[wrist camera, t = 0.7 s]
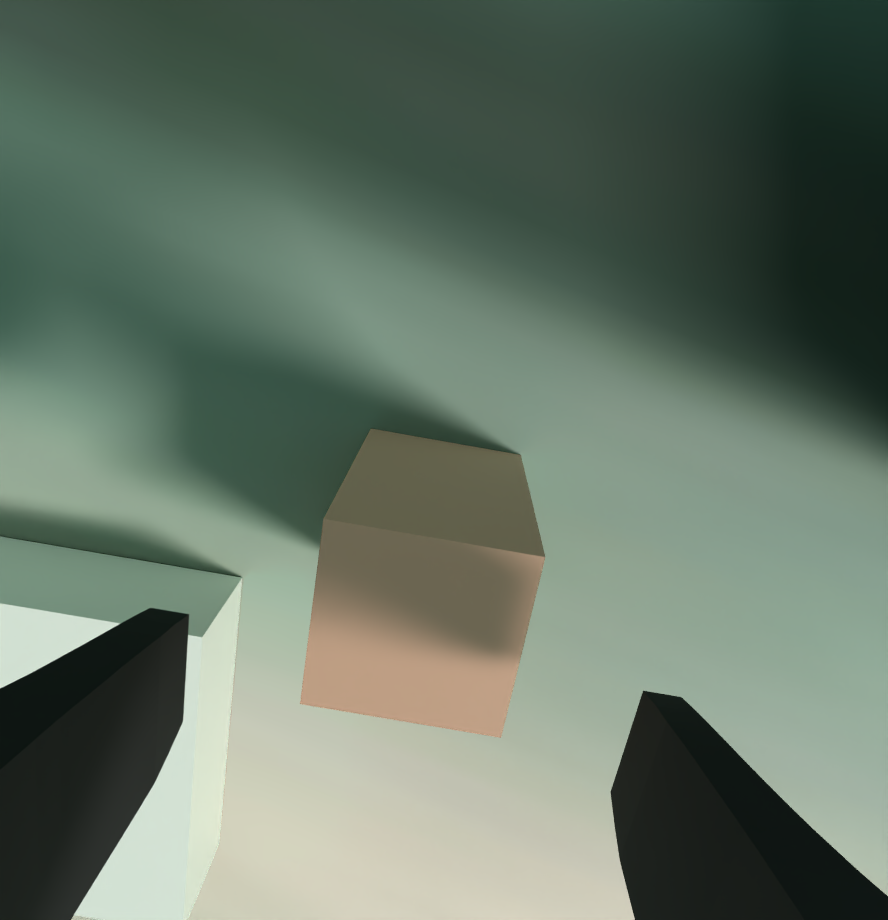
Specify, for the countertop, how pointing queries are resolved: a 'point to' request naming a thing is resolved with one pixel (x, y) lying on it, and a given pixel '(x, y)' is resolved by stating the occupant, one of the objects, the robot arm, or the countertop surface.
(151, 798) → the slab
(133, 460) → the countertop surface
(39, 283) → the countertop surface
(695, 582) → the countertop surface
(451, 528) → the block
